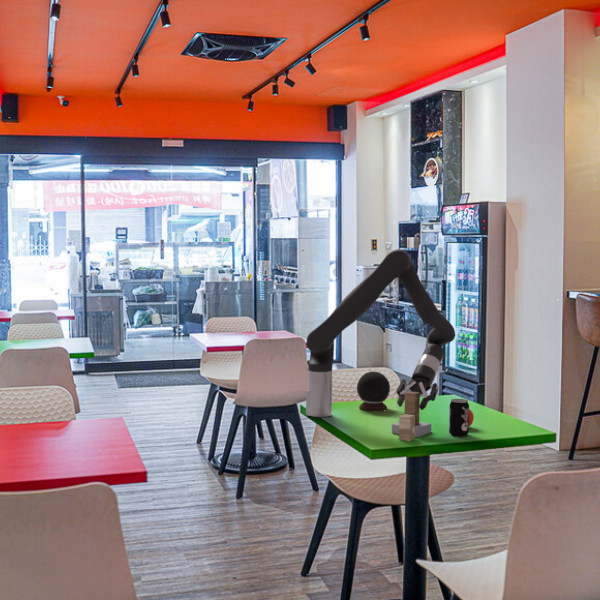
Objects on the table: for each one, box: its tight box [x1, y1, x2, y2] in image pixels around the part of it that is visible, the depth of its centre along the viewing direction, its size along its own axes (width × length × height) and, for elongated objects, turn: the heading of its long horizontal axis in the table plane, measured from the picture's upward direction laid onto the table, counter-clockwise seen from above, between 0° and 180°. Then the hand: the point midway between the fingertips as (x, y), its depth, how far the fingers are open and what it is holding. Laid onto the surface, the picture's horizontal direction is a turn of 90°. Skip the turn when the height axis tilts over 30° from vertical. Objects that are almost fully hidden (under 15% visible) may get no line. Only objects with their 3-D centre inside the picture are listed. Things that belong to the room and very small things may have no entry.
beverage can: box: [448, 398, 470, 437], centre depth 273 cm, size 7×7×12 cm
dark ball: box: [356, 370, 391, 412], centre depth 317 cm, size 13×13×15 cm
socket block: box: [391, 421, 432, 438], centre depth 276 cm, size 10×10×3 cm
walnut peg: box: [404, 390, 421, 426], centre depth 275 cm, size 4×4×14 cm
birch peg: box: [398, 413, 415, 442], centre depth 265 cm, size 4×4×8 cm
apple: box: [469, 408, 475, 427], centre depth 284 cm, size 8×8×8 cm
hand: (410, 406), depth 274 cm, fingers open, 8 cm apart
